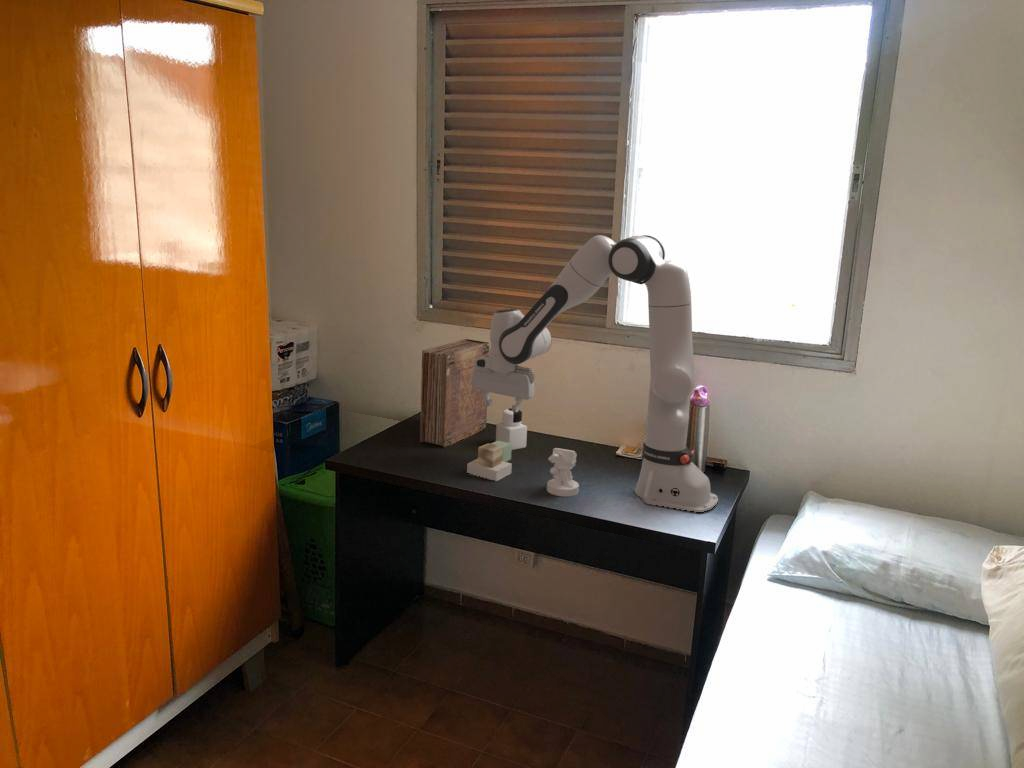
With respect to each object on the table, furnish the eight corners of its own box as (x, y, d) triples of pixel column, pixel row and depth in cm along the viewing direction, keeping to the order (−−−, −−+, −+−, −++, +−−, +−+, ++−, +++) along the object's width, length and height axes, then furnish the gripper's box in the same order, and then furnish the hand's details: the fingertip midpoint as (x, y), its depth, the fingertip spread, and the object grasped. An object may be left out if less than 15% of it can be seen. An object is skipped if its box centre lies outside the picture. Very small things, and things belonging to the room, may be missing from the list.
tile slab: (511, 473, 235) (511, 463, 234) (496, 481, 228) (496, 471, 227) (482, 465, 240) (482, 456, 239) (467, 473, 233) (467, 463, 232)
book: (443, 448, 253) (446, 354, 246) (419, 443, 258) (421, 350, 250) (486, 429, 275) (489, 342, 267) (463, 424, 279) (466, 338, 272)
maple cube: (501, 463, 234) (502, 446, 233) (492, 467, 230) (493, 451, 229) (487, 459, 237) (488, 443, 235) (477, 464, 232) (478, 447, 231)
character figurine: (542, 493, 221) (545, 451, 218) (553, 481, 230) (555, 441, 227) (573, 498, 219) (576, 456, 216) (583, 486, 227) (585, 446, 224)
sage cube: (511, 459, 247) (511, 443, 246) (502, 463, 243) (503, 447, 241) (497, 456, 249) (497, 440, 248) (488, 460, 245) (488, 444, 244)
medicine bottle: (512, 441, 264) (514, 405, 261) (526, 447, 258) (528, 411, 255) (495, 444, 259) (496, 408, 256) (508, 451, 254) (510, 414, 251)
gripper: (540, 367, 236) (537, 412, 240) (481, 356, 246) (479, 400, 250) (529, 370, 231) (526, 417, 234) (469, 359, 241) (467, 404, 244)
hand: (501, 408), depth 242 cm, fingers open, 8 cm apart
